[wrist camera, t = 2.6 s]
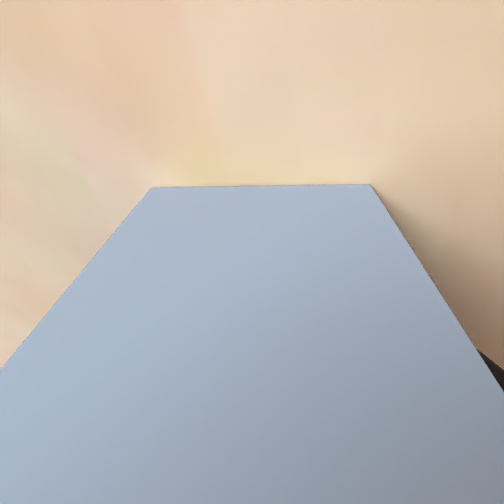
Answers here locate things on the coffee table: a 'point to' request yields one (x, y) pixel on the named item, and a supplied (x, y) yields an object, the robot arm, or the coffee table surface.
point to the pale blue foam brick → (251, 364)
